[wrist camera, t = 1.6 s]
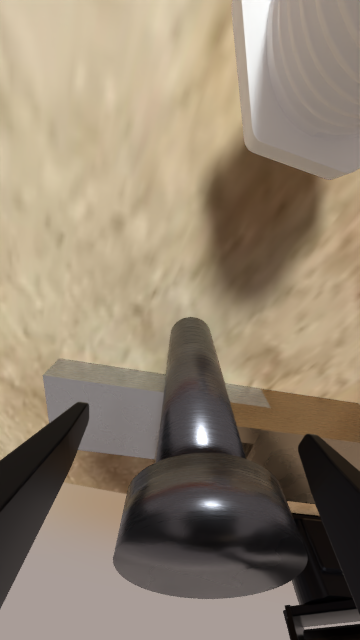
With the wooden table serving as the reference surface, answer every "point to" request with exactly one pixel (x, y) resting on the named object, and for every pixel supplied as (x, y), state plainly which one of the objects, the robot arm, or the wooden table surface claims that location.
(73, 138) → the wooden table surface
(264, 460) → the tan and silver block
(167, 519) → the metal knob
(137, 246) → the wooden table surface
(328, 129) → the pipe fitting
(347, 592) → the robot arm
